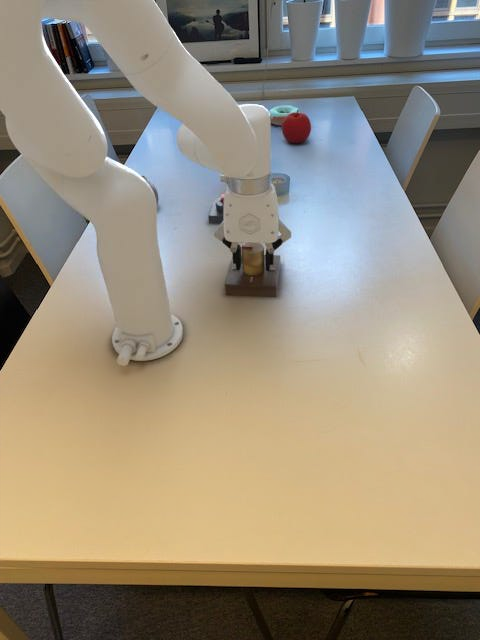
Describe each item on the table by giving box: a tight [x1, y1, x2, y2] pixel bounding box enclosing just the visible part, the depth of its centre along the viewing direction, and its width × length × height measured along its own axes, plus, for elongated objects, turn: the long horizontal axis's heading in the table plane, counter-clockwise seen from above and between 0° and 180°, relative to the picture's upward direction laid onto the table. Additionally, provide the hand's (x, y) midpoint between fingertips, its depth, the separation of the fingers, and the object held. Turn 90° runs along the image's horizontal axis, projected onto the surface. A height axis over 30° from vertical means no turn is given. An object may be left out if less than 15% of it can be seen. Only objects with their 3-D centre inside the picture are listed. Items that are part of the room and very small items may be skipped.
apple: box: [281, 109, 312, 144], centre depth 154 cm, size 9×9×10 cm
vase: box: [141, 175, 160, 207], centre depth 123 cm, size 7×7×9 cm
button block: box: [208, 195, 224, 225], centre depth 121 cm, size 9×9×4 cm
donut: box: [268, 105, 302, 127], centre depth 171 cm, size 12×12×4 cm
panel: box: [224, 253, 281, 298], centre depth 99 cm, size 11×10×3 cm
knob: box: [241, 243, 265, 275], centre depth 97 cm, size 4×4×5 cm
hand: (253, 265), depth 98 cm, fingers open, 5 cm apart
